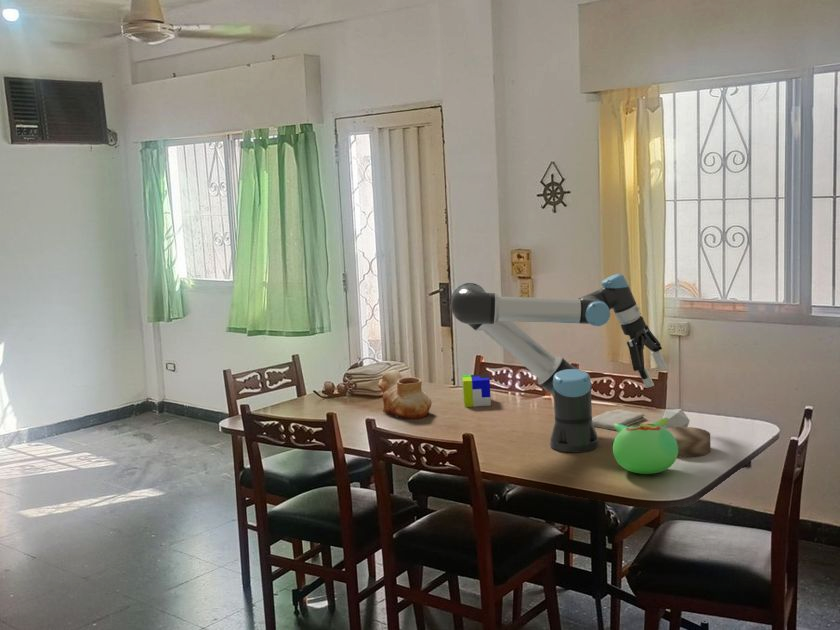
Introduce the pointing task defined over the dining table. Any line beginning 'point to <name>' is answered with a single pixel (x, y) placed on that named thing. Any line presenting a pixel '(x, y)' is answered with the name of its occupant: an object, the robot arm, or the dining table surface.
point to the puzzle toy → (476, 390)
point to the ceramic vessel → (403, 396)
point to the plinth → (691, 441)
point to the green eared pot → (645, 447)
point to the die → (675, 418)
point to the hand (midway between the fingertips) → (656, 378)
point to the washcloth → (616, 418)
